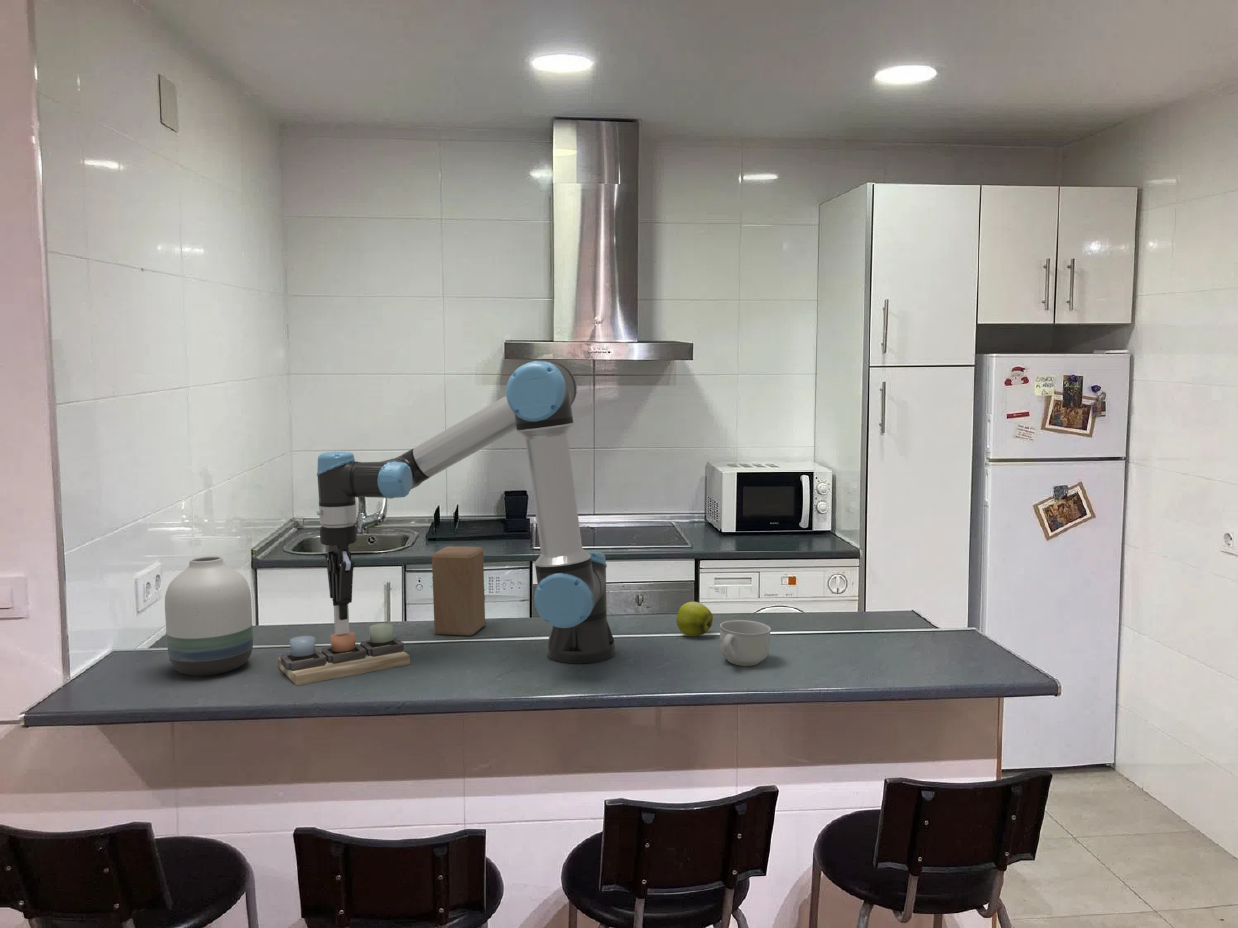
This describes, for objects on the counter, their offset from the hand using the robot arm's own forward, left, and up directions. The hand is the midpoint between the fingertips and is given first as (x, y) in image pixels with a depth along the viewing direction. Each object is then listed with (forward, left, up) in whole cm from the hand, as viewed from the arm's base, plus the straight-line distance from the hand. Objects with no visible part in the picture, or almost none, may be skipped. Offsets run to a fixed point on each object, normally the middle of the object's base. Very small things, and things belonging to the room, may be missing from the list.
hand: (342, 633), depth 206 cm
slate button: (0, +8, -3) cm, 9 cm away
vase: (+14, +24, -7) cm, 29 cm away
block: (+11, -32, -7) cm, 35 cm away
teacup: (-49, -70, -7) cm, 86 cm away
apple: (-26, -75, -7) cm, 80 cm away
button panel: (0, 0, -7) cm, 7 cm away
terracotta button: (0, 0, -3) cm, 3 cm away
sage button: (0, -9, -3) cm, 9 cm away
